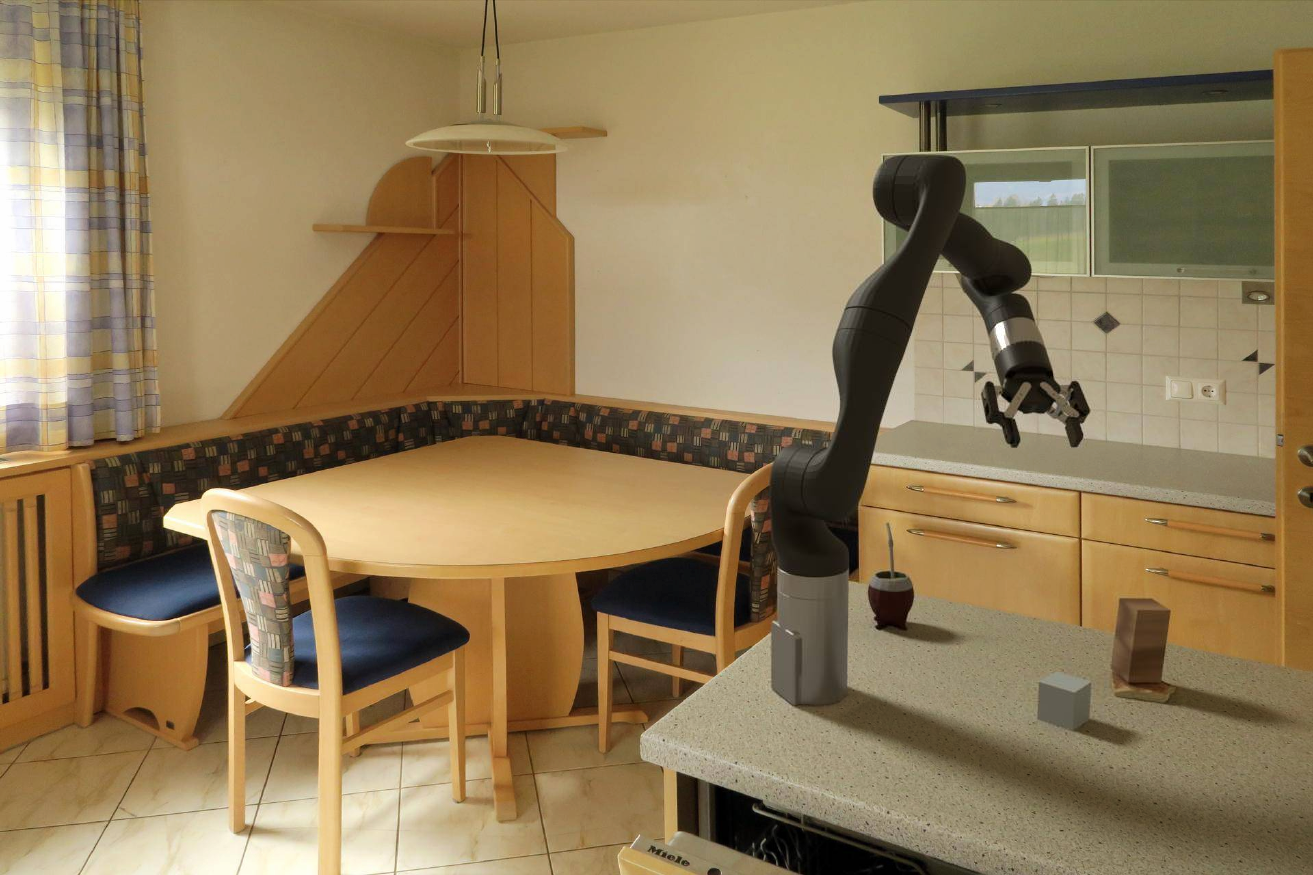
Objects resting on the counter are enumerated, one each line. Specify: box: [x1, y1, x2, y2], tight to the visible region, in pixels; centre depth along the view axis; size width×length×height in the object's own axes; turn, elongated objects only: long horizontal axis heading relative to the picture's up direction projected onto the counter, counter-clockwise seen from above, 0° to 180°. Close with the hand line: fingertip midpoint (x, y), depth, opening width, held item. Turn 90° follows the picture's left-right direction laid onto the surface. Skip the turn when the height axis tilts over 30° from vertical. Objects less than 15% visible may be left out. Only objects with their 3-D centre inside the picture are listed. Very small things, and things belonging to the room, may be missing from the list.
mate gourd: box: [867, 522, 915, 632], centre depth 160 cm, size 8×8×15 cm
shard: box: [1111, 670, 1176, 703], centre depth 137 cm, size 11×8×2 cm
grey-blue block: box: [1036, 671, 1092, 731], centre depth 127 cm, size 4×4×5 cm
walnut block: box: [1110, 597, 1172, 683], centre depth 136 cm, size 4×4×10 cm
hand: (1046, 444), depth 143 cm, fingers open, 8 cm apart
